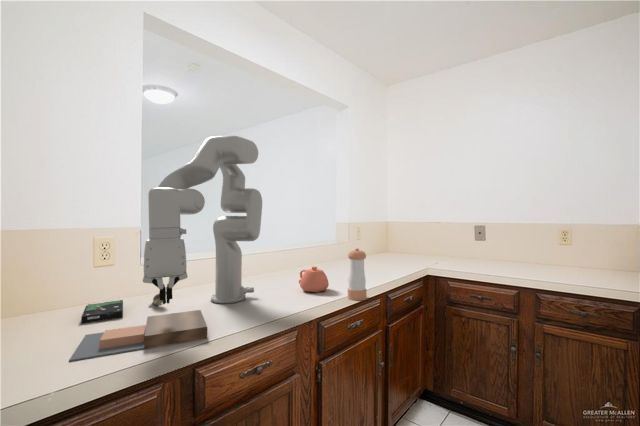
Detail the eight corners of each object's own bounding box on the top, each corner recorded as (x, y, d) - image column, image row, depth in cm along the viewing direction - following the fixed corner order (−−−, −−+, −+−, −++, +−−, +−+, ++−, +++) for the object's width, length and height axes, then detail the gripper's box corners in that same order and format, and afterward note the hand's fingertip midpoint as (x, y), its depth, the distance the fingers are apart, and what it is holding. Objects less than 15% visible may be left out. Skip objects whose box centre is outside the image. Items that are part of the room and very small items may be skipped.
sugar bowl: (318, 295, 122) (318, 270, 122) (290, 291, 129) (291, 267, 129) (333, 289, 132) (333, 266, 132) (307, 285, 140) (307, 263, 140)
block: (146, 332, 81) (146, 325, 81) (143, 342, 75) (144, 334, 75) (105, 338, 77) (105, 330, 77) (99, 348, 71) (99, 340, 71)
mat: (147, 327, 86) (147, 326, 86) (144, 349, 72) (144, 347, 72) (85, 335, 79) (85, 334, 79) (68, 361, 65) (68, 360, 65)
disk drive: (123, 319, 94) (122, 307, 107) (123, 310, 94) (122, 299, 107) (81, 326, 88) (85, 312, 101) (81, 316, 88) (85, 303, 101)
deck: (200, 319, 92) (200, 309, 92) (207, 338, 78) (207, 326, 78) (147, 327, 86) (147, 316, 86) (144, 349, 72) (144, 336, 72)
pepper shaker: (370, 297, 118) (370, 248, 119) (358, 301, 113) (358, 249, 114) (355, 294, 123) (355, 247, 124) (343, 297, 118) (343, 248, 119)
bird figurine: (171, 306, 106) (170, 289, 106) (156, 311, 102) (155, 293, 102) (163, 303, 109) (162, 287, 109) (147, 308, 105) (146, 291, 105)
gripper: (194, 232, 88) (194, 295, 88) (133, 234, 81) (134, 302, 82) (196, 234, 81) (197, 302, 82) (131, 236, 74) (132, 311, 75)
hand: (166, 302), depth 82 cm, fingers closed
